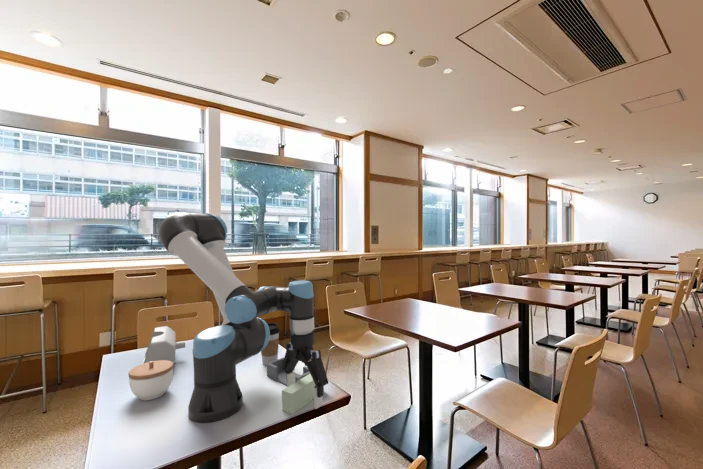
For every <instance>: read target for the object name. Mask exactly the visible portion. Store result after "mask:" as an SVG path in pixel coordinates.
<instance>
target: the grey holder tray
mask: <svg viewBox="0 0 703 469" xmlns="http://www.w3.org/2000/svg"><path fill="white" fill-rule="evenodd" d="M283 361H284V357H281V358H278V360H275V361H273V362H270V363H267V365H266V377H268V378H270V379H272V380H275V381H276V382H279V383H281V384H283V385H284V386H286V387H287V375H286V372H285V370H282V364H283ZM286 365H287V364H286ZM292 372H293V371H292ZM309 374H310V372H309V369H308V367H307V366H305V365H304V366H302V374H299V373H296V372H295V382H297V381H299V380H300V379H302V378H304V377H305V376H307V375H309Z"/></svg>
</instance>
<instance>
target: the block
mask: <svg viewBox="0 0 703 469" xmlns="http://www.w3.org/2000/svg"><path fill="white" fill-rule="evenodd" d="M318 382H319V381H318ZM314 386H315V383H314V381H313V378H312V376H311V374H309V375H307V376H305V377H304V378H302V379H300V380H299V381H297V382H295V383H293V384H292V385H290V386H288V387H287V386H286V387H285V388H284V389H281V402H282V403H281V404H282V405H281V406H282V409H281V410H282V411H283V412H287V413H290V414H295V413H296V412H297V411H299V410H300V409H302V408H303V407H304V406H306V405H307V404H308V403H310V402H311V401H313V400H314ZM323 393H325V385H324V386H323ZM312 399H313V400H312ZM298 409H299V410H298Z"/></svg>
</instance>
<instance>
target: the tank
mask: <svg viewBox="0 0 703 469" xmlns="http://www.w3.org/2000/svg"><path fill="white" fill-rule="evenodd" d="M185 348H186V341H185V340H184V341H178V342H177V341H176V331H174V330H173V329H172V328H171V327H169V326H167V325H165V326H158V327H154V330H153V332H152V335H151V337H150V340H149V343H148V346H147V348H146V351H145V353H144V357H143V359H144V360H142V363H143V361H144V363H147V362H150V361H158V360H168V361H171V362H173V365H174V363H175V362H176V351H177V350H180V349H185ZM144 363H143V364H144Z"/></svg>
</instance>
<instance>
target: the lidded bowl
mask: <svg viewBox="0 0 703 469" xmlns="http://www.w3.org/2000/svg"><path fill="white" fill-rule="evenodd" d="M173 377H174V364H173V362H171V361H168V360H158V361H150V362H147V363H144V364H142V363H141V364H139V365H136V366H134V367H133V368H131V369H130V370H129V371H128V380H129V381H128V383H129V388H130V392H131V393H132V394H133V395H134V396H135V397H137V398H139V400H141V401H150V400H151V401H152V400H155V399H157V398H160V397H162V396H163V395H165V393H166V392H167V390H168V389H169V387H170V386H171V383H172V381H173Z"/></svg>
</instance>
